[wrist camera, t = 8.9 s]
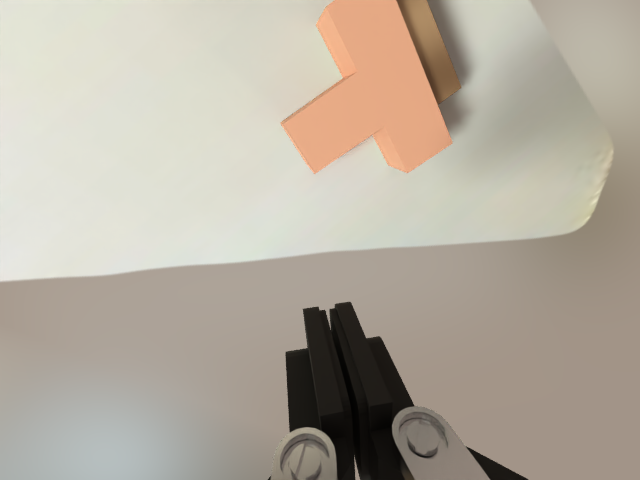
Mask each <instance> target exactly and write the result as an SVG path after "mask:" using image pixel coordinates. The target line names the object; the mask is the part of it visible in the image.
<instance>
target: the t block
mask: <svg viewBox="0 0 640 480" xmlns="http://www.w3.org/2000/svg"><path fill="white" fill-rule="evenodd" d="M316 26H317V28H318V30H319V32H320V34H321V36H322V38H323V40H324V42H325V44H326V45H327V47H328V49H329V51H330V53H331V55H332V57H333V59H334V61H335V63H336V65H337V67H338V69H339V71H340V73H341V75H342V77H343V79H342V80H340V81H339V82H337V83H336V84H334V85H333V86H332V87H330V88H329V89H327V90H326V91H325V92H323V93H322V94H320V95H319V96H317V97H316V98H315V99H313V100H312V101H310V102H309V103H308V104H306V105H305V106H303V107H302V108H300V109H299V110H298V111H296V112H295V113H293V114H292V115H291V116H289V117H288V118H286V119H285V120H283V121H282V122H281V125H282V127H283V128H284V130H285V131H286V133H287V134H288V136H289V137H290V139H291V141H292V142H293V144H294V145H295V147H296V148H297V150H298V151H299V153H300V154H301V156H302V158H303V159H304V161H305V162H306V164H307V165H308V167H309V168H310V169H311V170H312V171H313V173H314V174H315V173H317V172H318V171H320V170H321V169H323V168H324V167H325V166H327V165H328V164H330V163H331V162H333V161H334V160H336V159H337V158H339V157H340V156H342V155H343V154H345V153H346V152H347V151H349V150H350V149H352V148H353V147H355V146H356V145H358V144H359V143H361V142H362V141H364V140H365V139H367V138H368V137H369V136H371V135H373V137H374V139H375V141H376V143H377V145H378V146H379V148H380V150H381V152H382V154H383V156H384V158H385V160H386V162H387V164H388V165H389V166H391V167H394V168H396V169H399V170H401V171H404V172H406V173H408V172H410V171H412V170H413V169H415V168H416V167H418V166H419V165H421V164H422V163H424V162H425V161H427V160H428V159H430V158H431V157H433V156H434V155H436V154H437V153H439V152H440V151H442V150H443V149H445V148H446V147H448V146H449V145H451V144H452V140H451V137H450V135H449V132H448V130H447V127H446V125H445V122H444V120H443V117H442V115H441V112H440V110H439V107H438V105H437V102H436V100H435V97H434V94H433V92H432V89H431V87H430V84H429V82H428V79H427V77H426V74H425V72H424V69H423V67H422V64H421V62H420V59H419V57H418V54H417V52H416V49H415V46H414V44H413V41H412V39H411V36H410V34H409V31H408V29H407V26H406V24H405V21H404V19H403V16H402V14H401V11H400V9H399V6H398V3H397V1H396V0H335V1H333V2H332V3H330V4H329V5H328V6H326V8H325V9H324V11H323V13H322V15H321V17H320V18H319V20H318V22H317V24H316Z"/></svg>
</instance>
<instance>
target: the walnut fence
mask: <svg viewBox="0 0 640 480" xmlns="http://www.w3.org/2000/svg"><path fill="white" fill-rule="evenodd" d="M396 1H397V3H398V6H399V9H400V11H401V14H402V16H403V19H404V21H405V24H406V26H407V29H408V31H409V34H410V36H411V39H412V41H413V44H414V46H415V49H416V52H417V54H418V57H419V59H420V62H421V64H422V67H423V69H424V72H425V74H426V77H427V79H428V82H429V84H430V87H431V89H432V92H433V94H434V97H435V100H436V102H437V105H438V104H440V103H441V102H442V101H444V100H445V99H446V98H448V97H449V96H451V95H452V94H453V93H455V92H456V91H457V90H459V89H460V88H462V87H461V85H460V82H459V80H458V77H457V75H456V72H455V70H454V67H453V65H452V62H451V60H450V57H449V55H448V52H447V50H446V47H445V45H444V42H443V40H442V37H441V35H440V32H439V30H438V27H437V25H436V22H435V20H434V17H433V15H432V12H431V10H430V7H429V5H428V2H427V0H396Z"/></svg>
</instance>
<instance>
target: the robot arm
mask: <svg viewBox="0 0 640 480" xmlns="http://www.w3.org/2000/svg"><path fill="white" fill-rule="evenodd" d="M303 314H304V321H305V330H306V338H307V347H308V348H306V349H300V350H294V351H288V352H286V370H287V389H288V409H289V425H290V426H289V428H290V433H289V434H288V435H287V436H286V437H284V438H283V439H282V440H281V442H280V444H279V445H278V447H277V449H276V452H275V455H274V459H273V465H272V473H271V476H270V477H269V479H268V480H355V465H354V456H355V460H356V464H357V469H358V473H359V477H360V480H528V479H526V478H525V477H523V476H521V475H519V474H517V473H515V472H513V471H511V470H509V469H508V468H506V467H504V466H502V465H500V464H498V463H496V462H495V461H493V460H490V459H489V458H487V457H485V456H483V455H481V454H480V453H478V452H476V451H474V450H472V449H470V448H468V447H466V446H465V445H464V444H463V442H462V441H461V440H460V438H459V437H458V435H457V434H456V433H455V431H454V430H453V429H452V427H451V426H450V425H449V424H448V422H447V421H446V420H445V419H444V418H443V417H442V416H441V415H439V414H437V413H436V412H434V411H433V410H430V409H428V408H425V407H418V406H414V404H413V402H412V400H411V398H410V396H409V394H408V392H407V390H406V388H405V385H404V384H403V382H402V379H401V377H400V376H399V373H398V371H397V369H396V367H395V365H394V363H393V361H392V359H391V357H390V355H389V353H388V351H387V349H386V347H385V345H384V342H383V341H382V339H381V338H380V337H379V336H378V337H373V338H366V337H365V335H364V332H363V330H362V327H361V326H360V323H359V320H358V318H357V316H356V313H355V311H354V309H353V306H352V304H351V302H345V303H339V304H335V308H334V309H330V323H331V330H330V326H329V322H328V319H327V315H326V311H325V310H320V311H319V307H312V308H306V309H303Z"/></svg>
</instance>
